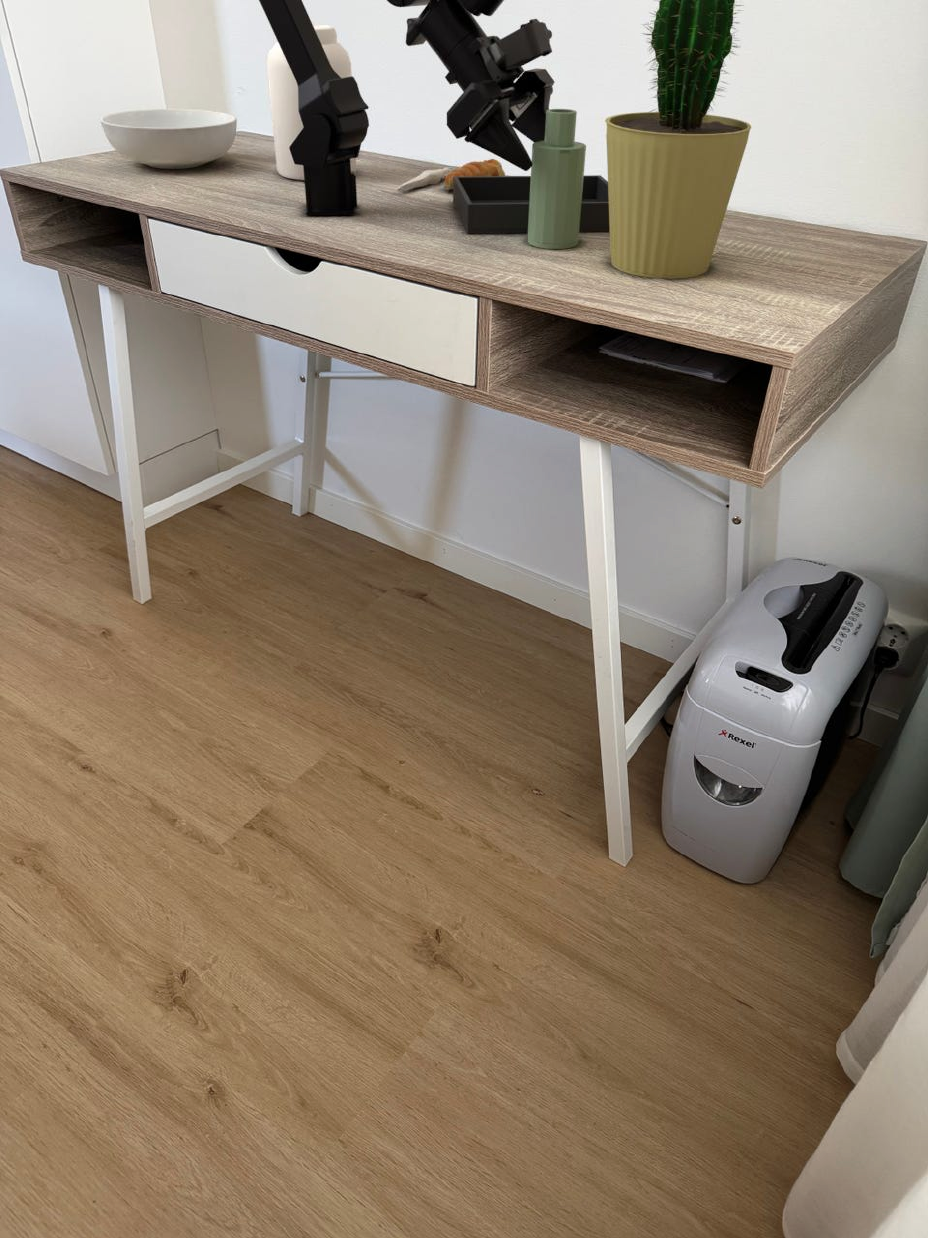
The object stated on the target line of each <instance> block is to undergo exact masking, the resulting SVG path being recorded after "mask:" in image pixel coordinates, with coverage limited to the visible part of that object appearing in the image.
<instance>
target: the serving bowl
mask: <svg viewBox="0 0 928 1238" xmlns="http://www.w3.org/2000/svg"><path fill="white" fill-rule="evenodd" d="M237 121H238V120H237V118H236V116H234V115H232V114H229V113H226V112H222V111H216V110H205V109H191V108H151V109H148V108H147V109H136V110H126V111H119V112H115V113H111V114H106V115H104V116H102V117H100V124H101V127H102V130H103V132H104V135H105V138H106V139H107V141H108V143H109V144H110V145H111V147H112V148H113V149H114V150H115V151H116V152H117V153H118V154H120V155H121V156H123V157H124V158H126V159H128V160H130V161H133V162H136V163H140V164H143V165H147V166H149V167H151V168H154V169H162V170H163V169H164V170H182V169H183V170H184V169H192V168H197V167H201V166H203V165H204V164H207V163H210V162H212V161H215V160H217V159H219V158H221V157H223V156H224V155H226V154H227V153H228V152H229V150H230V149H231V147H232V146H233V144H234V141H235V138H236V135H237V124H238V123H237Z"/></svg>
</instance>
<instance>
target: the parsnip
mask: <svg viewBox="0 0 928 1238" xmlns="http://www.w3.org/2000/svg"><path fill="white" fill-rule="evenodd" d="M449 171H450V169H449V167H446V166H445V167H444V168H442V169H441V168H438V169H427V170H423V171H421V174H419V175H418V176H415V177H414V178H412V179H410V180H408V181H406V182H404V183H402V184H401V185H399V186H398V187H397V191H409V190H412V189H415V188H420V187H421V188H422V187H425V186H428V185H437V184H439V183H440V182H441V181H442V180H445V177H446V173H448V172H449Z"/></svg>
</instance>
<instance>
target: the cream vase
mask: <svg viewBox="0 0 928 1238" xmlns="http://www.w3.org/2000/svg"><path fill="white" fill-rule="evenodd" d="M312 24H313V27H314V29H315V31H316V33H317V36H318V38H319V40H320V42H321V45H322V47H323V49H324V51H325V54H326V56H327V58H328V60H329V63H330V65H331V67H332V68H333V70H334V71H335V72H336V73H337V74H338V75H339V76H340V77H341V78H346V77H351V76H352V62H351V59H350V56H349V55H350V54H349V52H348V50H346V48H345V47H344V46H343V45H342V44H341V43H340V42H338V36H337V35H338V33H337V31H336V28H335V27H334V26H332V25H329V24H328V25H327V24H315V23H312ZM266 70H267V71H266V72H267V80H268V91H269V101H270V102H269V103H270V111H271V123H272V133H273V143H274V154H275V163H276V164H275V165H276V170H277V173H278V174H279V175H280V176H281V177H284V178H287V179H290V180H295V181H302V182H303V181H304V170H303V165H296V164H294V161H293V158H292V155H291V152H290V149H289V147H290V145H291V144H292V143H293V141H294V140H295V138H296V137H297V136H298V134H299V133H300V132H301V130H302V129H303V128H304V127H303V124H302V121H301V118H300V114H299V110H298V85H297V82H296V80H295V78H294V76H293V73H292V71H291V69H290V67H289V65H288V63H287V60H286V58H285V56H284V54H283V52H282V50H281V47H280V45H279V43H278V41H277V42H275V44H273V46H272V48H270V50H269V51H268V54H267V60H266ZM352 77H353V76H352ZM350 163H351V171H355V172H356V170H357V158H351V159H350Z"/></svg>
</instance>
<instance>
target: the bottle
mask: <svg viewBox="0 0 928 1238" xmlns="http://www.w3.org/2000/svg"><path fill="white" fill-rule="evenodd" d="M577 115H578V112H577V111H576V110H575V109H568V108H551V109H550V108H549V110H547V111H546V125H545V141H538V142H533V143H532V144H531V161H532V163H533V165H532V167H531V168H530V176H531V181H530V201H529V220H528V233H527V243H528V245H530V246H532V247H536V248H539V249H546V250H563V249H564V250H566V249H571V248H574V247H577V246H578V244H579V238H580V232H579V226H580V214H581V202H582V190H583V178H584V176H585V165H586V155H587V154H586V153H587V145H586V144H585V143H583V142H579V141H576V129H577V128H576V127H577Z"/></svg>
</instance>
